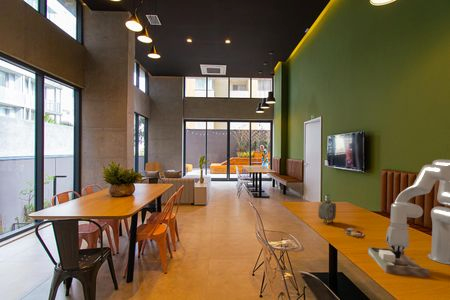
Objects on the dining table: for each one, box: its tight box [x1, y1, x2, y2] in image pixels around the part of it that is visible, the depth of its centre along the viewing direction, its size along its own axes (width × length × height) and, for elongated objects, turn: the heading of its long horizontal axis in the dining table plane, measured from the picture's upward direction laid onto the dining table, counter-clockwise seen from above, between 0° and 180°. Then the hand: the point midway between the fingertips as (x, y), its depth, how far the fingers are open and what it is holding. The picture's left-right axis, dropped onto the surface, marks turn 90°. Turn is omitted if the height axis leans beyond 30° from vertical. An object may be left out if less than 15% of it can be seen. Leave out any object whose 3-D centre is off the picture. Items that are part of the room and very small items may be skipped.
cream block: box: [379, 250, 395, 262], centre depth 140 cm, size 6×6×4 cm
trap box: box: [367, 246, 430, 278], centre depth 139 cm, size 20×24×4 cm
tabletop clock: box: [317, 194, 337, 226], centre depth 212 cm, size 14×9×25 cm, turn 131°
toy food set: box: [343, 227, 365, 238], centre depth 186 cm, size 13×13×3 cm
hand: (396, 257), depth 139 cm, fingers closed
